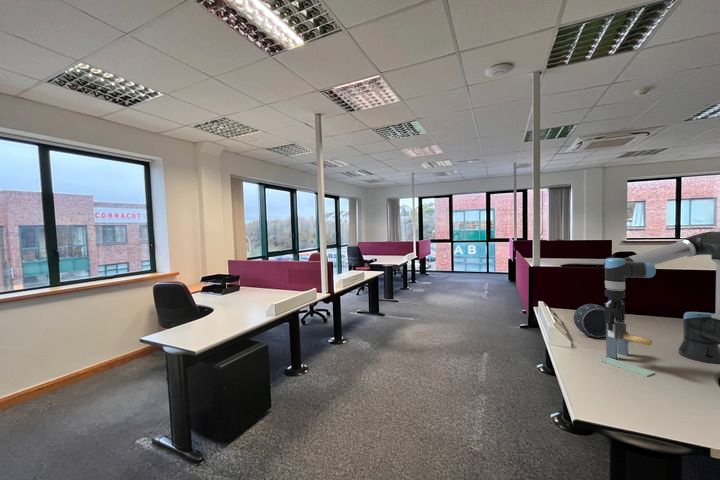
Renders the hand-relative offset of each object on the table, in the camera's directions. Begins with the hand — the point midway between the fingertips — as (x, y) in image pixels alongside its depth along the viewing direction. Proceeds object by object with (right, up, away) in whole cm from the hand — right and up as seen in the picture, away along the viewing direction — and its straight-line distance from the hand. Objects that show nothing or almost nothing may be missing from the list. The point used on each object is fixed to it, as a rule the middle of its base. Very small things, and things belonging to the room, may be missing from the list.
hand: (614, 335), depth 144 cm
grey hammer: (+2, 0, -5) cm, 5 cm away
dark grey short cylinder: (+20, -13, +37) cm, 44 cm away
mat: (+2, -14, -4) cm, 15 cm away
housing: (+8, -13, +8) cm, 18 cm away
